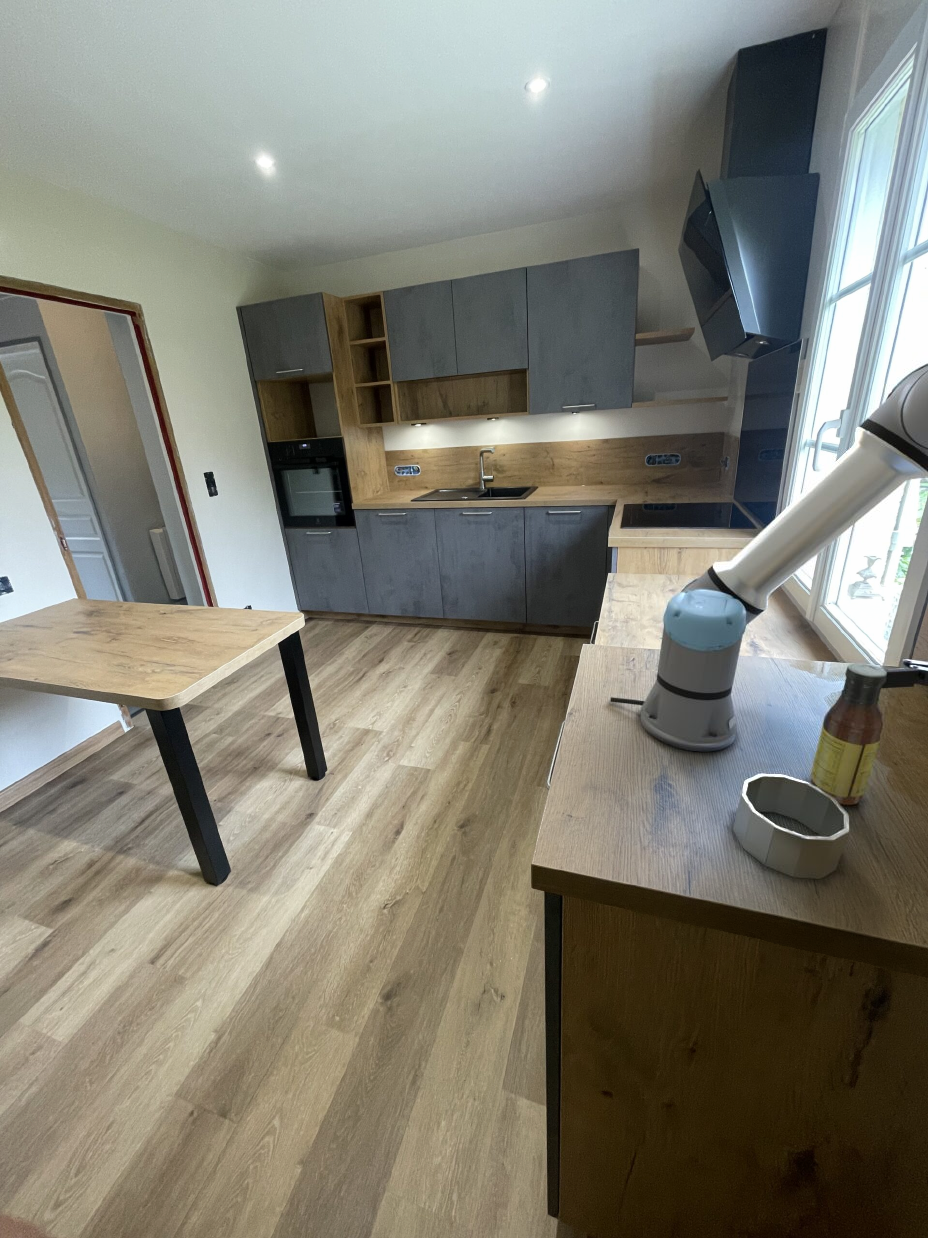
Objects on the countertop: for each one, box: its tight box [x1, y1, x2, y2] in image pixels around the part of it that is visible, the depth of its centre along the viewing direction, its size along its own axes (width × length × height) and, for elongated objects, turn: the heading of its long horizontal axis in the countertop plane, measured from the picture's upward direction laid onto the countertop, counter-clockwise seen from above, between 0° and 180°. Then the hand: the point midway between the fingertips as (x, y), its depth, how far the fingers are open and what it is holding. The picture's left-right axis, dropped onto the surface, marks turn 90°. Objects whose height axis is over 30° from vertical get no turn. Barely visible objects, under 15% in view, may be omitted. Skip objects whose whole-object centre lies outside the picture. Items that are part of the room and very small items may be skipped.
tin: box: [732, 773, 850, 880], centre depth 61 cm, size 11×11×6 cm
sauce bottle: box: [810, 662, 887, 806], centre depth 66 cm, size 6×6×20 cm
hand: (914, 704), depth 65 cm, fingers open, 13 cm apart
